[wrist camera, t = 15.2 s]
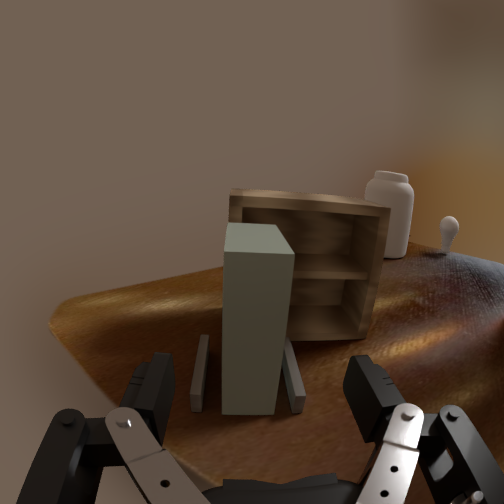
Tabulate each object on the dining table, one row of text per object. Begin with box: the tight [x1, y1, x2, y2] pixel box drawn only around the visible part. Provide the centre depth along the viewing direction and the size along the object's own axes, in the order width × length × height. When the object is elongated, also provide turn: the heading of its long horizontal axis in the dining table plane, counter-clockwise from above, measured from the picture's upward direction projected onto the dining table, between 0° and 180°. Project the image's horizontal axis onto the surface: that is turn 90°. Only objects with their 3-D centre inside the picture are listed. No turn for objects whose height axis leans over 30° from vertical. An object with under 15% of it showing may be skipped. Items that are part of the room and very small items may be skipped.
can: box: [365, 171, 414, 258], centre depth 67 cm, size 12×12×20 cm
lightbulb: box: [440, 216, 459, 254], centre depth 71 cm, size 6×6×11 cm
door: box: [222, 223, 295, 415], centre depth 23 cm, size 5×8×13 cm, turn 3°
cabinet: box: [190, 189, 391, 413], centre depth 28 cm, size 18×19×15 cm
